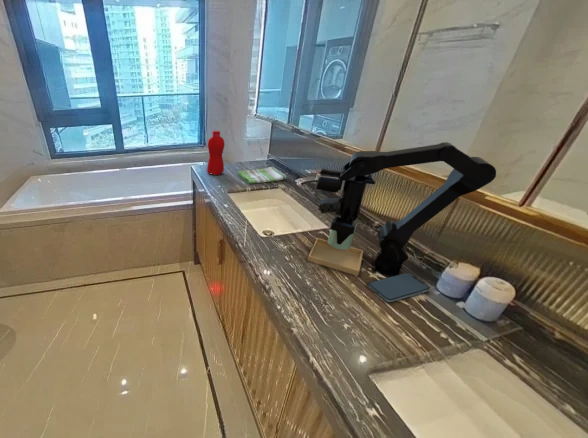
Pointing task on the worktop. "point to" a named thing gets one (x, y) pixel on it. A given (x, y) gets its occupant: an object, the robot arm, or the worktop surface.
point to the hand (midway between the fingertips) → (340, 238)
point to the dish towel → (262, 175)
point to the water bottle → (215, 154)
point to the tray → (336, 257)
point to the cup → (345, 245)
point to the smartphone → (398, 287)
